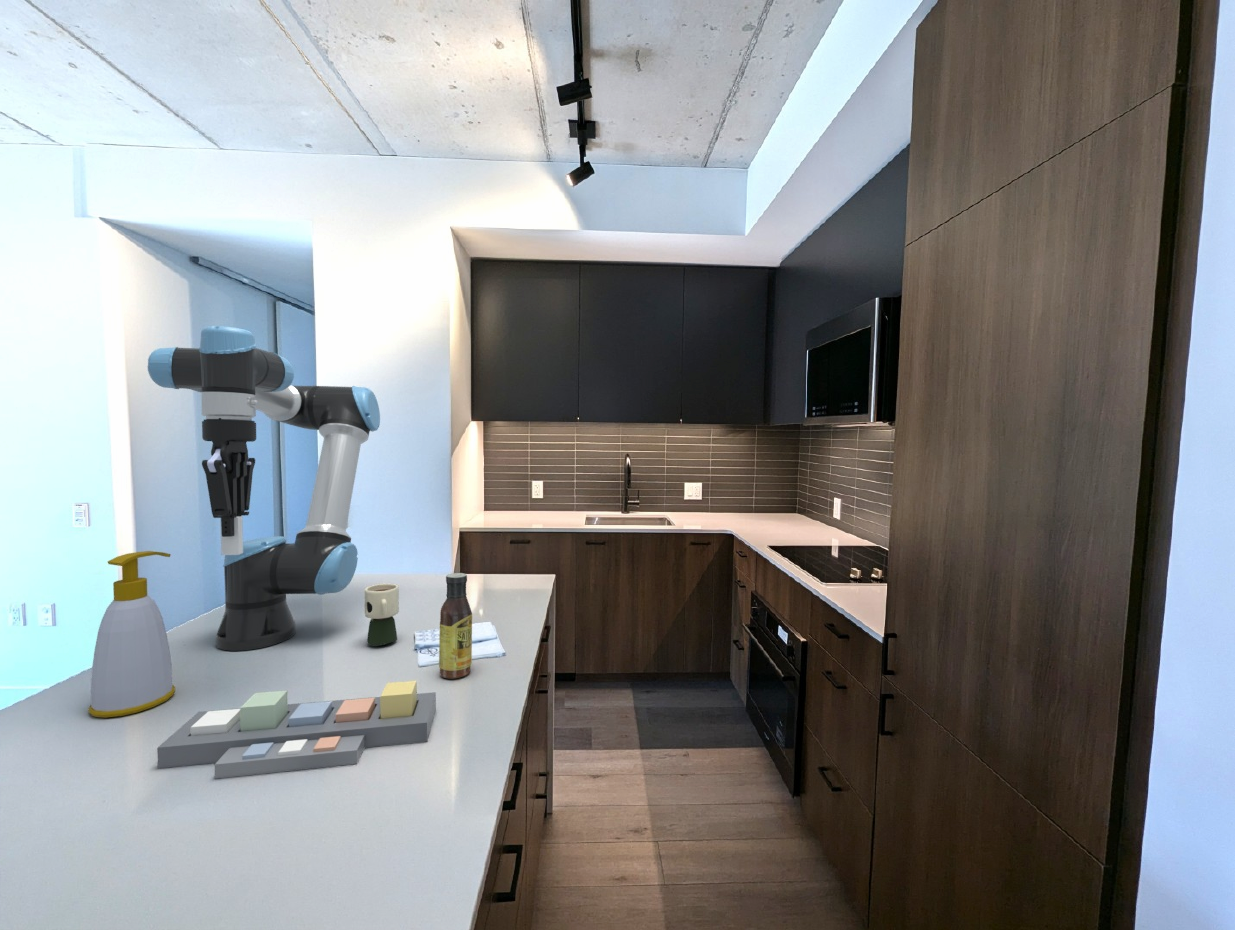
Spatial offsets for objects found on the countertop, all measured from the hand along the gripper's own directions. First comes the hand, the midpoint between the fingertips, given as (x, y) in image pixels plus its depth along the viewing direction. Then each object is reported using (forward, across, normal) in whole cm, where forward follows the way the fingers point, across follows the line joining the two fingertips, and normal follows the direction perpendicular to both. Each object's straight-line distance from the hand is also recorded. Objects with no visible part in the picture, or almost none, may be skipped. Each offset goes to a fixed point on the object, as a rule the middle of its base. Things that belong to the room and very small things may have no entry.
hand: (232, 553), depth 91 cm
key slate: (+26, -14, -17) cm, 34 cm away
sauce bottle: (+27, +5, -37) cm, 46 cm away
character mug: (+27, +24, -19) cm, 41 cm away
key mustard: (+24, -14, -30) cm, 41 cm away
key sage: (+24, -14, -10) cm, 30 cm away
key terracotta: (+26, -14, -23) cm, 38 cm away
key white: (+26, -14, -4) cm, 30 cm away
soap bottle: (+27, +3, +17) cm, 32 cm away
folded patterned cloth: (+27, +20, -36) cm, 49 cm away
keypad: (+26, -16, -17) cm, 35 cm away
